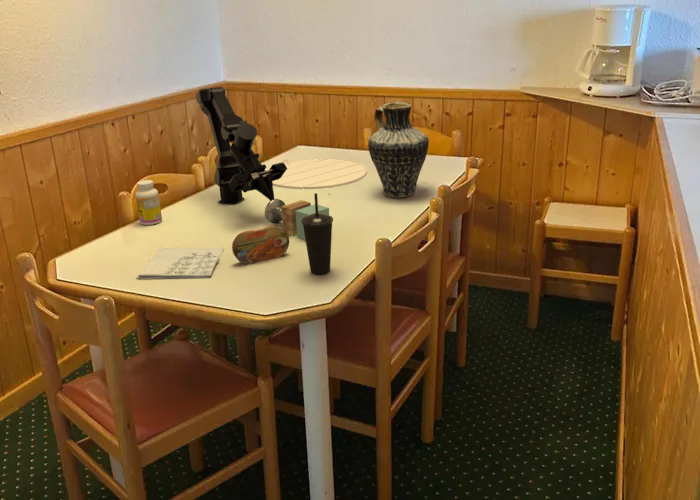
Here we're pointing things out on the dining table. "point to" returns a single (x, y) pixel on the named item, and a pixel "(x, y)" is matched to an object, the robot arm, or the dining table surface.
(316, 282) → the dining table surface
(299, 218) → the socket block
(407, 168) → the jug
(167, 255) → the folded printed napkin
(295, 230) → the sleeve block
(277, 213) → the metal mushroom knob
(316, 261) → the drinking cup
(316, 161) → the lazy susan
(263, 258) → the tin
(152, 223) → the supplement bottle
